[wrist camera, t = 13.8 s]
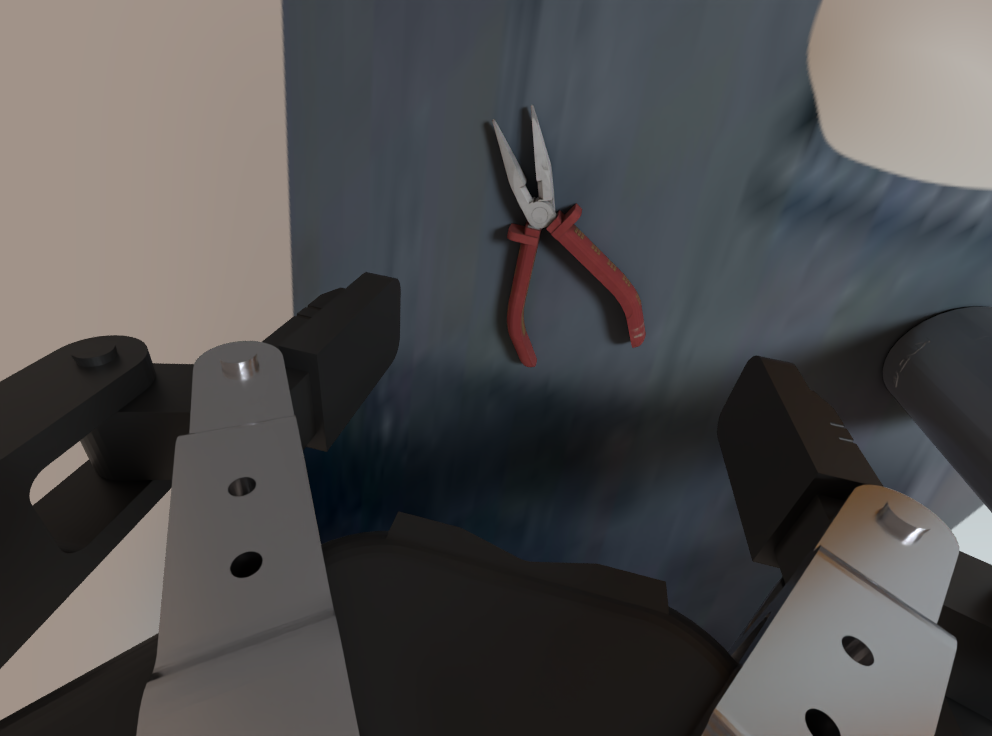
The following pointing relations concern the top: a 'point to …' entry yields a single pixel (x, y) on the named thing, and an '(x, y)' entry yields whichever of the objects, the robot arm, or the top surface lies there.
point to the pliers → (566, 233)
